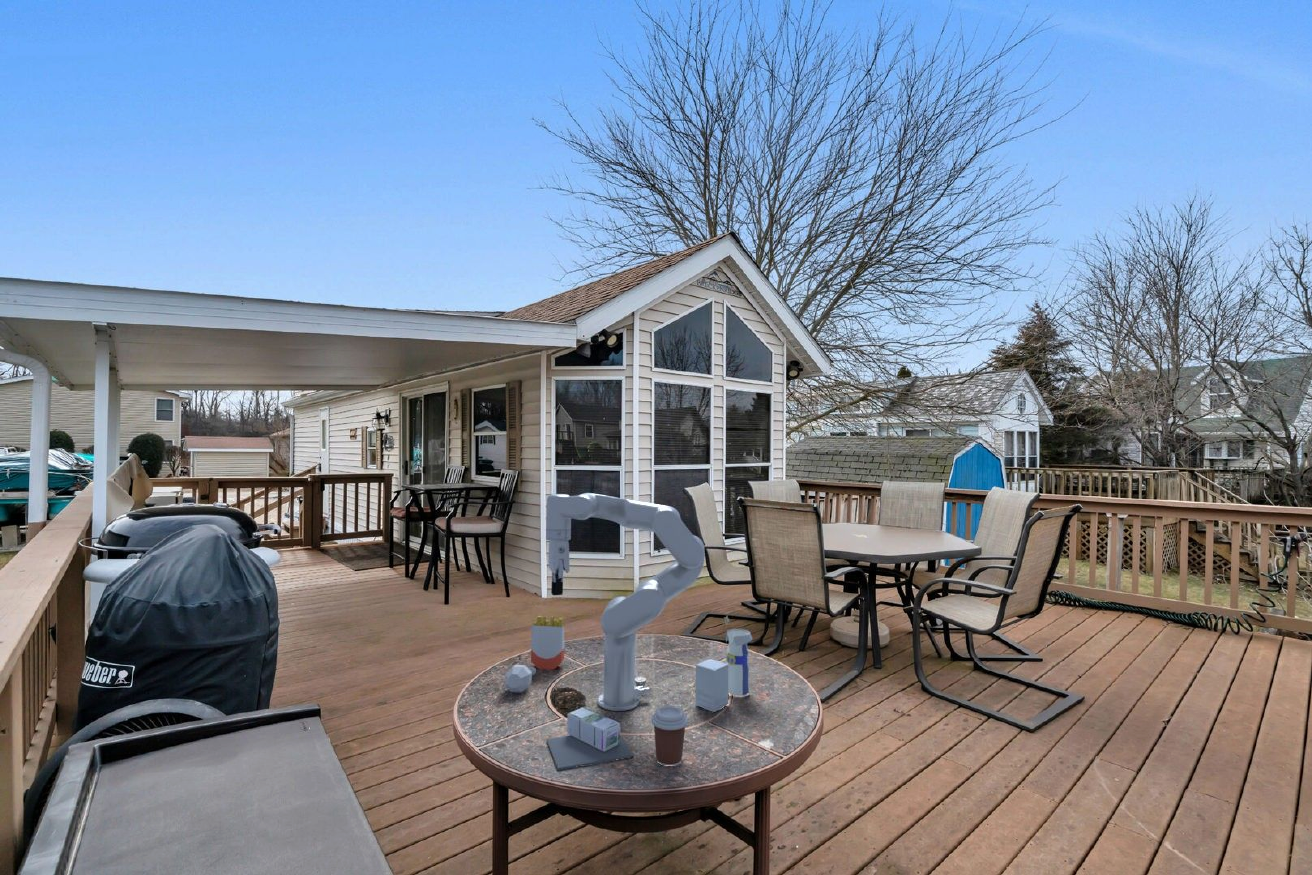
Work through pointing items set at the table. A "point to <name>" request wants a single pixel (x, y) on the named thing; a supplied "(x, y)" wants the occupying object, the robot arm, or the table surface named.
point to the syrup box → (593, 729)
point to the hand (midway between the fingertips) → (557, 594)
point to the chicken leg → (519, 678)
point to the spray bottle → (738, 660)
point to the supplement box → (711, 684)
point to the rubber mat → (583, 752)
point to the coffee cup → (669, 734)
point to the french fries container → (547, 643)
